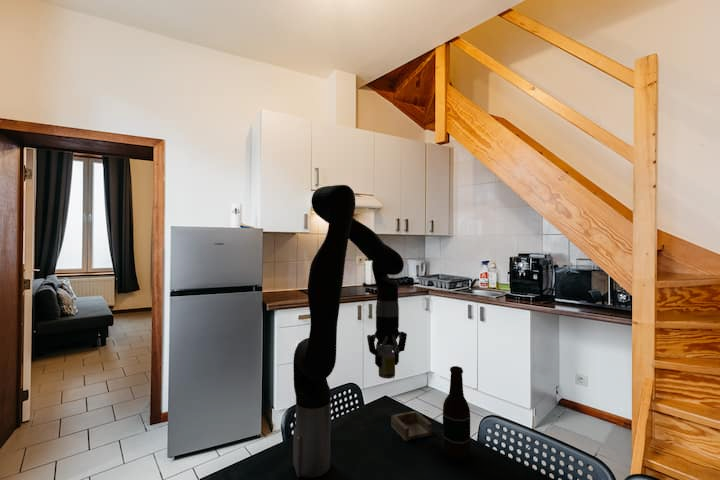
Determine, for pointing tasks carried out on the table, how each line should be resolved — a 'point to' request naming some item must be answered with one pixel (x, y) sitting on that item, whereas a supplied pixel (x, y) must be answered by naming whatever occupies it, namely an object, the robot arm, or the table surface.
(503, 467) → the table surface
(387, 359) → the supplement bottle
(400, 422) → the u holder
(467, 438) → the beer bottle
